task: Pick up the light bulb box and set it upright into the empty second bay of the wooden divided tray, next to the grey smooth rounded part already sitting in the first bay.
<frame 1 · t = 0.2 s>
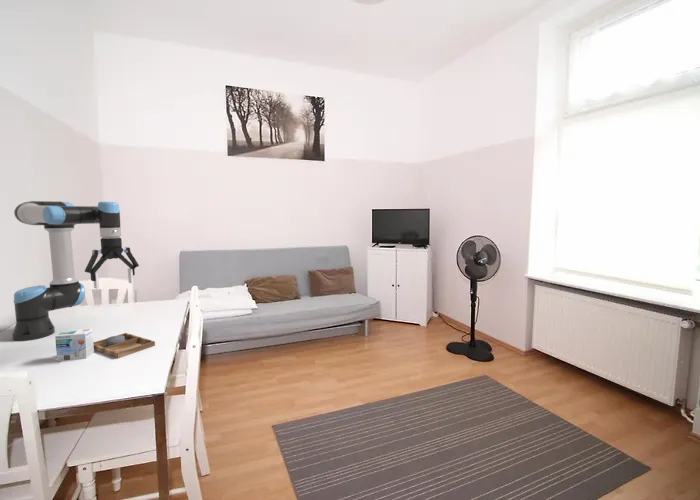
hand: (114, 285, 153), 27 cm above the table, fingers open, 13 cm apart
wooden divided tray: (122, 347, 154), on the table
light bulb box: (76, 357, 143), on the table
grey smooth rounded part: (115, 344, 156), resting on wooden divided tray
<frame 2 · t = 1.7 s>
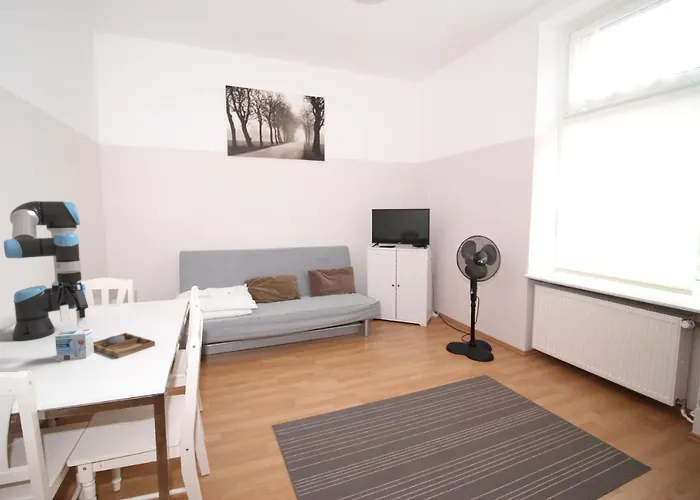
hand: (73, 323, 141), 14 cm above the table, fingers open, 13 cm apart
nothing on the table moved.
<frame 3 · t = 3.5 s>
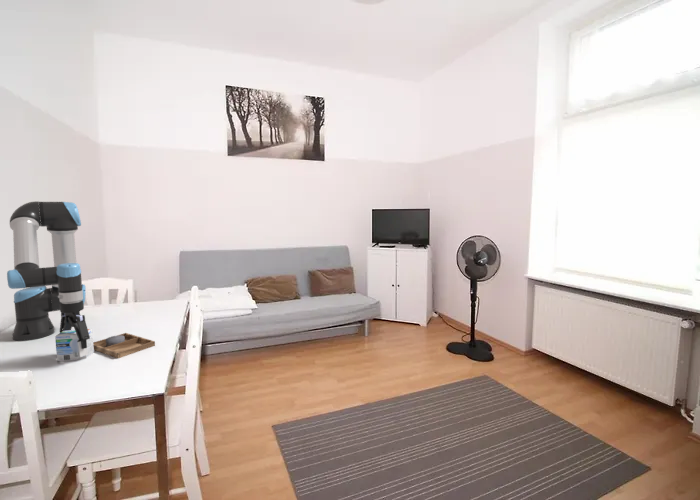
hand: (75, 352, 143), 2 cm above the table, fingers closed on light bulb box, 12 cm apart
light bulb box: (76, 357, 143), on the table, touching gripper
everything else where it was.
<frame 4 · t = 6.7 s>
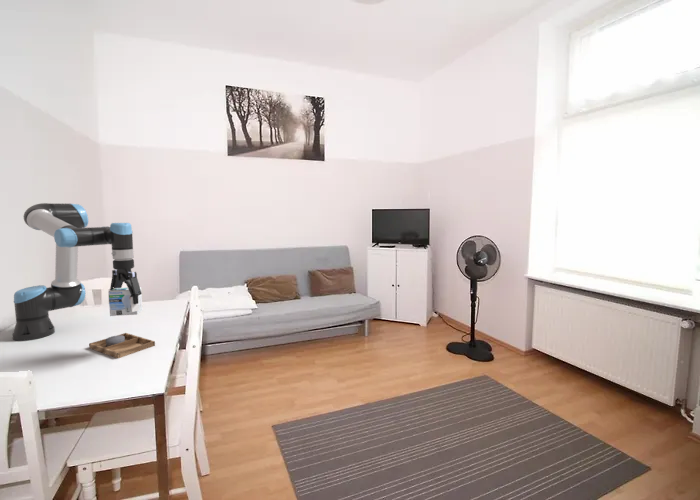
hand: (126, 309, 149), 18 cm above the table, fingers closed on light bulb box, 12 cm apart
light bulb box: (126, 313, 149), point 16 cm above the table, touching gripper
everything else where it was.
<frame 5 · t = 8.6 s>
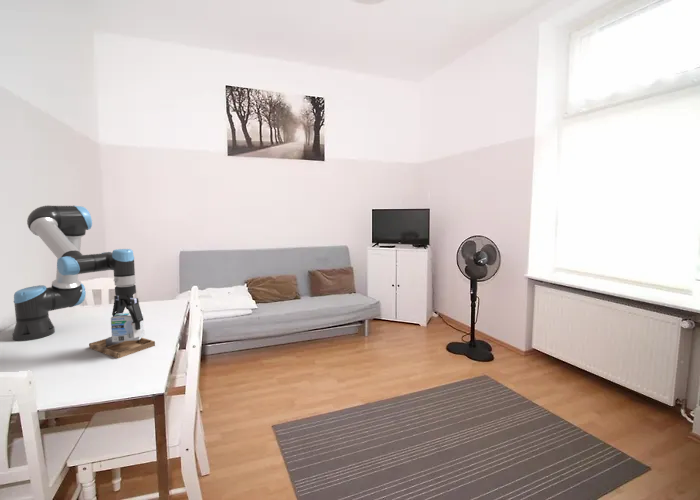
hand: (128, 334, 150), 7 cm above the table, fingers closed on light bulb box, 12 cm apart
light bulb box: (128, 338, 150), point 5 cm above the table, touching gripper
everything else where it was.
when the fingers open (5 cm above the table, at t = 10.2 s): light bulb box stays where it is, resting on wooden divided tray.
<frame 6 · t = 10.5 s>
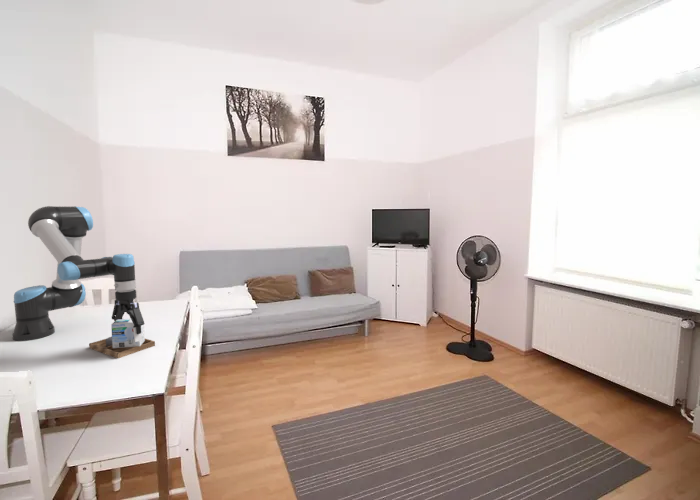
hand: (128, 338, 150), 5 cm above the table, fingers open, 13 cm apart
light bulb box: (129, 345, 151), point 2 cm above the table, touching wooden divided tray
everything else where it was.
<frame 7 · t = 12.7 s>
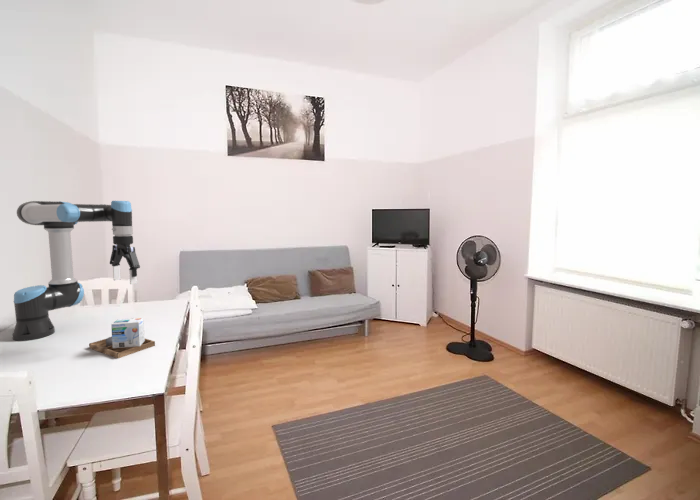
hand: (125, 281, 158), 28 cm above the table, fingers open, 13 cm apart
nothing on the table moved.
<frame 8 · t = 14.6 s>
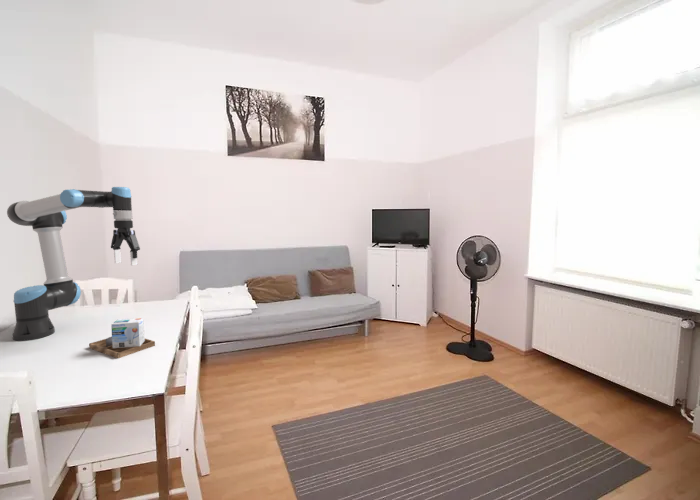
hand: (126, 264, 167), 35 cm above the table, fingers open, 13 cm apart
nothing on the table moved.
at the end: light bulb box inside the target area on the wooden divided tray (0.0 cm from its centre), point 2.1 cm above the wooden divided tray's base; light bulb box tilted 0°; grey smooth rounded part moved 0.0 cm from its start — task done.
